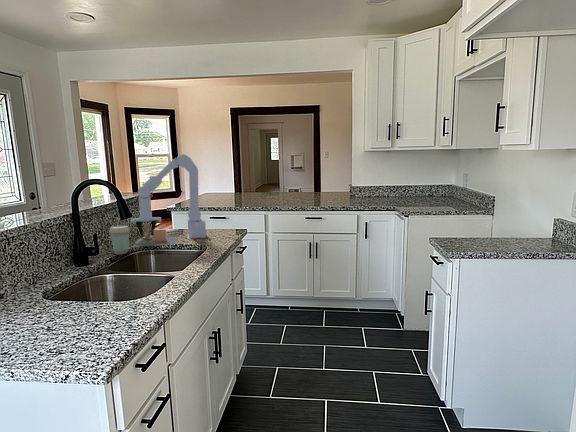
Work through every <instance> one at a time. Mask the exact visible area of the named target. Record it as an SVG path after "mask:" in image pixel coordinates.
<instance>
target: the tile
mask: <svg viewBox="0 0 576 432" xmlns="http://www.w3.org/2000/svg"><path fill="white" fill-rule="evenodd" d="M153 232H154V235H153V238H154V242H159V241H167V237H168V235H167V228H158V229H157V228H156V229H155V230H153Z"/></svg>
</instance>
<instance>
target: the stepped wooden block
mask: <svg viewBox="0 0 576 432" xmlns="http://www.w3.org/2000/svg"><path fill="white" fill-rule="evenodd" d="M143 234H144V236H143V238H142V239H143V240H152V238H153V236H152V235H151V223H144V224H143Z"/></svg>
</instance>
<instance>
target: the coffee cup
mask: <svg viewBox="0 0 576 432" xmlns="http://www.w3.org/2000/svg"><path fill="white" fill-rule="evenodd" d="M109 234H110V239H111V245H112V248H113V253H114V255H126V254H128V253H129V248H130V247H129V244H130V227H129V225H112V226H111V227H110V228H109Z"/></svg>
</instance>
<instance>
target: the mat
mask: <svg viewBox="0 0 576 432" xmlns="http://www.w3.org/2000/svg"><path fill="white" fill-rule="evenodd" d="M178 239H179V236H167V241H159V242H154V237H152V240H143V238H138V239H137V240H136V241H135V242H134V244H132V246H131V247H132V248H135V247H138V248H139V247H150V246H151V247H152V246H168V245H169V246H170V245H176V244H177V241H178Z"/></svg>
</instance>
